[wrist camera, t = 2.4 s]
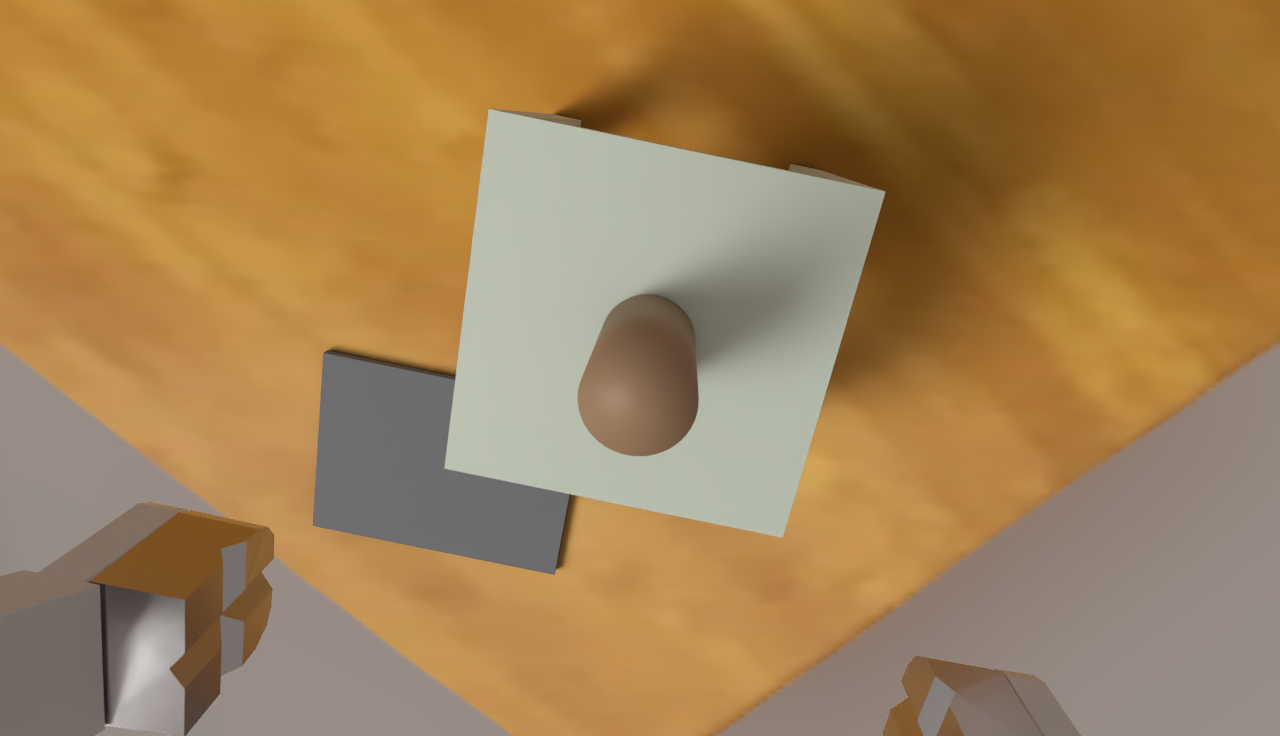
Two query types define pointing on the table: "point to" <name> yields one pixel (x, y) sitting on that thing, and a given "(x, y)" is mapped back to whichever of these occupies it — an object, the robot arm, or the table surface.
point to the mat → (419, 472)
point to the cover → (651, 320)
